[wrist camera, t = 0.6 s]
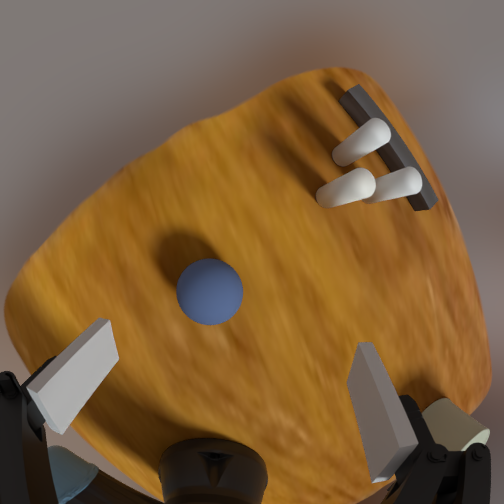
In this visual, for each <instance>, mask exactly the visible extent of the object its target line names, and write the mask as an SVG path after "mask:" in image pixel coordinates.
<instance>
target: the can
mask: <svg viewBox="0 0 504 504" xmlns="http://www.w3.org/2000/svg"><path fill="white" fill-rule="evenodd" d="M421 414H422V416H423V418H424V420H425V422H426V424H427V426H428V428H429V431H430V433H431V435H432V437H433V439H434V441H435V443H436V444H441V445H443V446H445V447H446V448H447V450H448V451H465V450H466V449H467V448H468V447H469V445H471V444H473V443H477V442H479V443H483V444H484V445H485V443H486V442H487V440H488V437H489V434H490V430H489V429H488V428H486V427H484V426H483V425H481V424H480V423H479V422H477V421H476V420H475V419H473V418H472V417H471V416H469V415H468V414H466V413H465V412H464V411H462V410H461V409H460V408H459V407H457V406H456V405H455V404H453V403H452V402H451V400H450V399H448V398H442V399H439V400H437V401H435V402H434V403H432V404H431V405H430V406H428V407H427V408H426V409H425V410H424V411H423V412H422V413H421Z"/></svg>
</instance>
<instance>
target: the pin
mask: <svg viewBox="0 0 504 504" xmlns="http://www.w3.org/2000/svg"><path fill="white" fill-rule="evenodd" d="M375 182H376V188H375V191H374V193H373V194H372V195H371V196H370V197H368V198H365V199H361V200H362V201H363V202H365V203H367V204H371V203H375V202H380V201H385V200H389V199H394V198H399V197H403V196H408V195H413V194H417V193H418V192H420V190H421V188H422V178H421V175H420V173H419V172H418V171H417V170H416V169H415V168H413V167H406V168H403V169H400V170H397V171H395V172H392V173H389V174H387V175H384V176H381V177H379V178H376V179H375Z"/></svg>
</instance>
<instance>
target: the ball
mask: <svg viewBox="0 0 504 504" xmlns="http://www.w3.org/2000/svg"><path fill="white" fill-rule="evenodd" d="M242 297H243V287H242V283H241V280H240V278H239V276H238V274H237V273H236V271H235V270H234V269H233V268H232V267H231V266H230V265H228V264H227V263H225V262H223V261H220V260H217V259H202V260H198V261H196V262H194V263H192V264H190V265H189V266H188V267H187V268H186V269H185V270H184V271H183V272H182V274H181V276H180V278H179V280H178V283H177V300H178V303H179V305H180V307H181V309H182V311H183V312H184V313H185V314H186V315H187V316H188V317H189V318H190V319H192V320H193V321H195V322H197V323H200V324H205V325H216V324H220V323H223V322H225V321H227V320H228V319H230V318H231V317H232V316H233V315H234V314H235V313H236V312H237V310H238V309H239V307H240V305H241V302H242Z"/></svg>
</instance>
